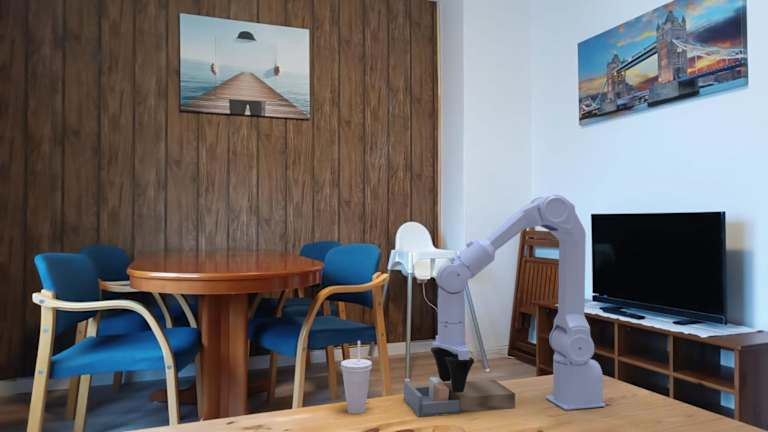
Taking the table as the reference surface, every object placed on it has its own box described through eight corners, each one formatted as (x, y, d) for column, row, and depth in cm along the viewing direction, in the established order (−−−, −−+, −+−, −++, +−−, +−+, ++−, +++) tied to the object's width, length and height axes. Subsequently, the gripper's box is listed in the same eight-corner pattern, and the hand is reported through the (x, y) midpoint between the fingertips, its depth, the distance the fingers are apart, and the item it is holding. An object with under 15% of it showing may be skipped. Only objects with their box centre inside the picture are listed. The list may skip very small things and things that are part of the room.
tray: (441, 396, 115) (441, 377, 115) (459, 413, 104) (459, 393, 104) (403, 399, 113) (403, 380, 113) (418, 417, 102) (418, 396, 102)
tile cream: (438, 377, 114) (429, 377, 113) (444, 382, 110) (435, 382, 109) (437, 395, 114) (428, 395, 113) (443, 401, 110) (434, 401, 109)
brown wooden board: (493, 392, 117) (493, 379, 117) (515, 407, 108) (515, 393, 108) (443, 396, 115) (443, 383, 115) (460, 412, 105) (460, 397, 105)
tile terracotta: (443, 382, 109) (433, 382, 109) (449, 388, 106) (439, 388, 105) (441, 402, 109) (432, 402, 109) (447, 408, 105) (438, 408, 105)
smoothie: (368, 417, 102) (368, 345, 103) (336, 414, 104) (336, 343, 104) (375, 406, 109) (375, 338, 109) (345, 404, 110) (345, 337, 110)
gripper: (422, 316, 116) (422, 377, 116) (445, 328, 102) (445, 398, 102) (452, 315, 118) (452, 375, 118) (479, 326, 104) (479, 396, 103)
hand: (451, 386), depth 110 cm, fingers open, 7 cm apart
